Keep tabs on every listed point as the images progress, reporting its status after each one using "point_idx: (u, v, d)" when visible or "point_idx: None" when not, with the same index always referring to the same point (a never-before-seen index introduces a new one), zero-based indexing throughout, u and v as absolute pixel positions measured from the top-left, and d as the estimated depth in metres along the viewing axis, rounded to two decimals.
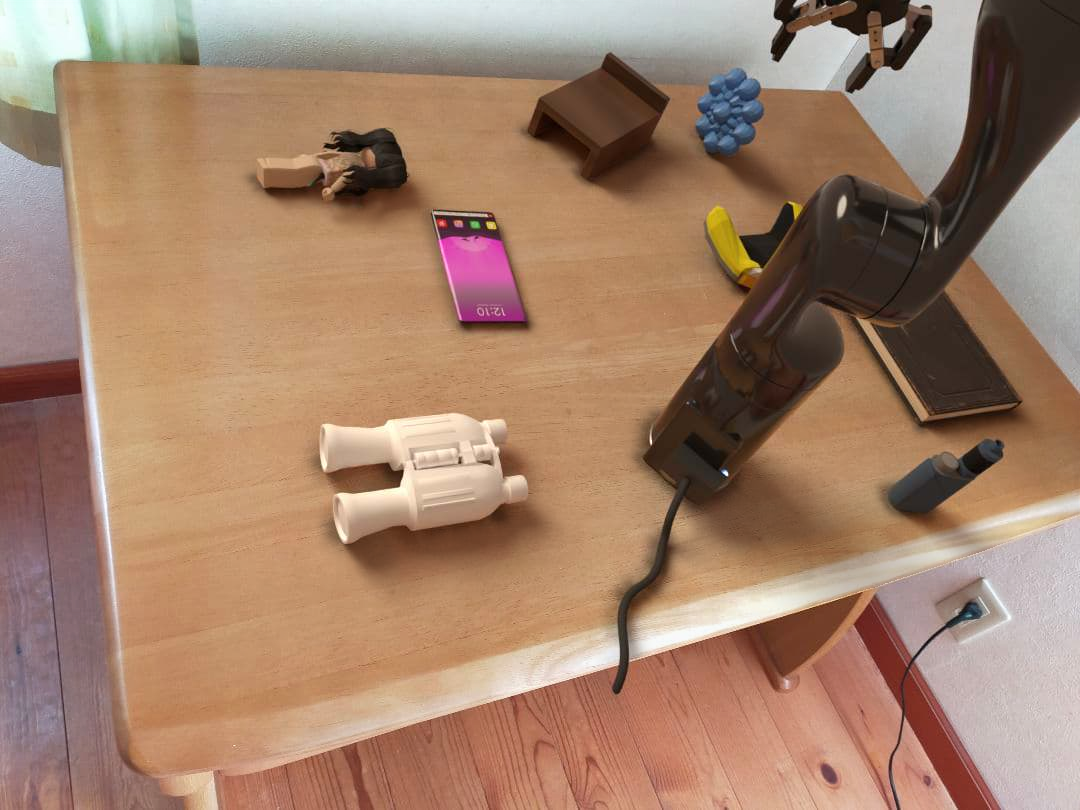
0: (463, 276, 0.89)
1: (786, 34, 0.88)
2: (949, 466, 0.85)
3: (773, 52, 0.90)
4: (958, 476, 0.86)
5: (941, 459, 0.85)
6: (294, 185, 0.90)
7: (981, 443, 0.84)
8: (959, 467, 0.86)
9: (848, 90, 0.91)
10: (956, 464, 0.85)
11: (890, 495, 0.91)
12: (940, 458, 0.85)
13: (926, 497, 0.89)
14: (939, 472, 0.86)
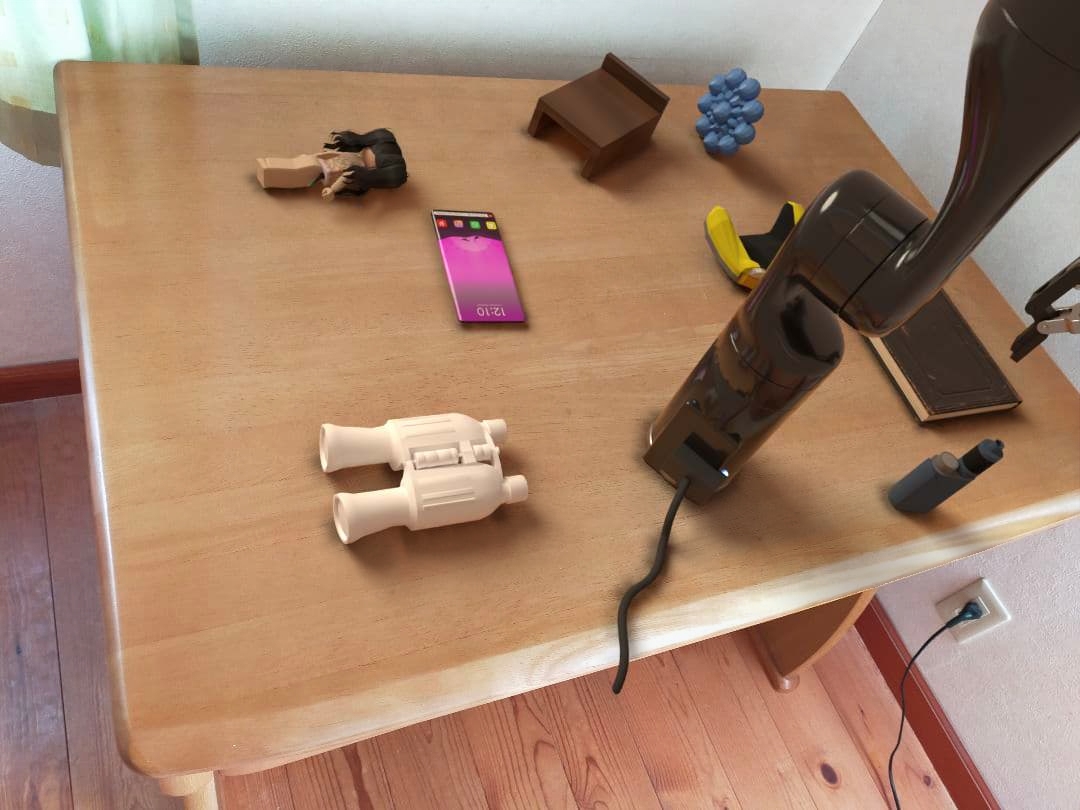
0: (463, 276, 0.89)
1: (1035, 334, 0.74)
2: (949, 466, 0.85)
3: (1013, 350, 0.76)
4: (958, 476, 0.86)
5: (941, 459, 0.85)
6: (294, 185, 0.90)
7: (981, 443, 0.84)
8: (959, 467, 0.86)
9: None
10: (956, 464, 0.85)
11: (890, 495, 0.91)
12: (940, 458, 0.85)
13: (926, 497, 0.89)
14: (939, 472, 0.86)
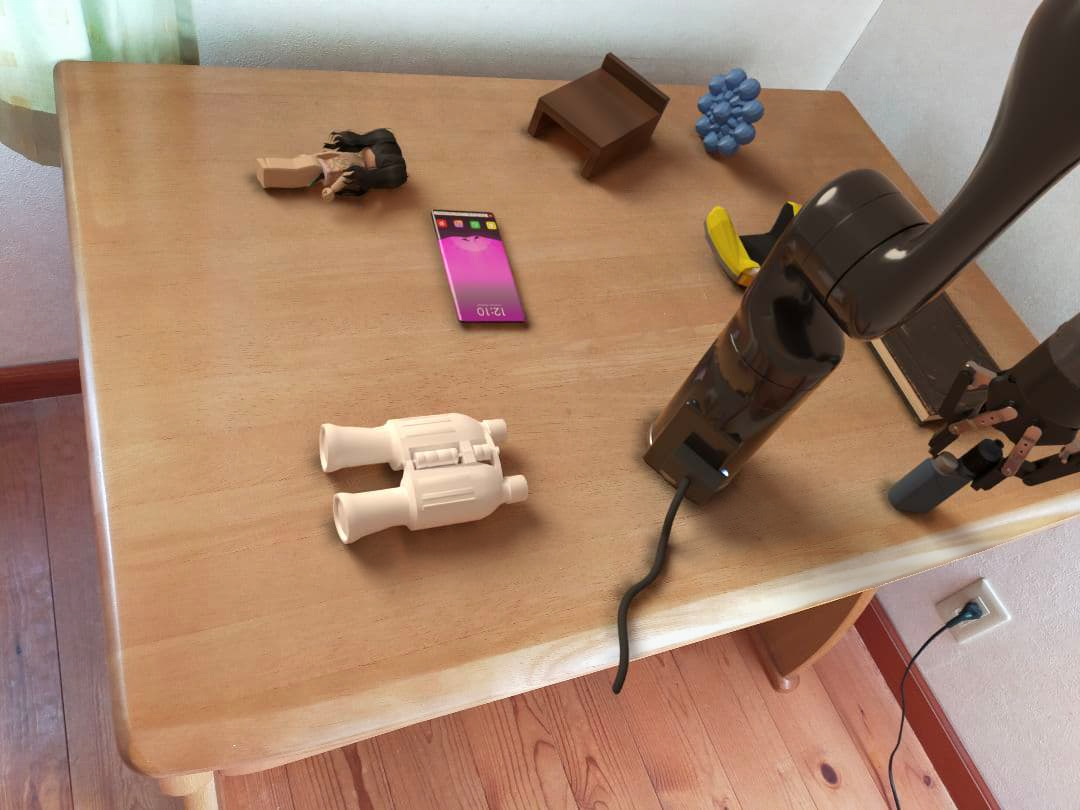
0: (463, 276, 0.89)
1: (948, 433, 0.84)
2: (949, 466, 0.85)
3: (931, 445, 0.86)
4: (958, 476, 0.86)
5: (941, 459, 0.85)
6: (294, 185, 0.90)
7: (981, 443, 0.84)
8: (959, 467, 0.86)
9: (973, 486, 0.85)
10: (956, 464, 0.85)
11: (889, 495, 0.91)
12: (940, 458, 0.85)
13: (926, 497, 0.89)
14: (939, 471, 0.86)
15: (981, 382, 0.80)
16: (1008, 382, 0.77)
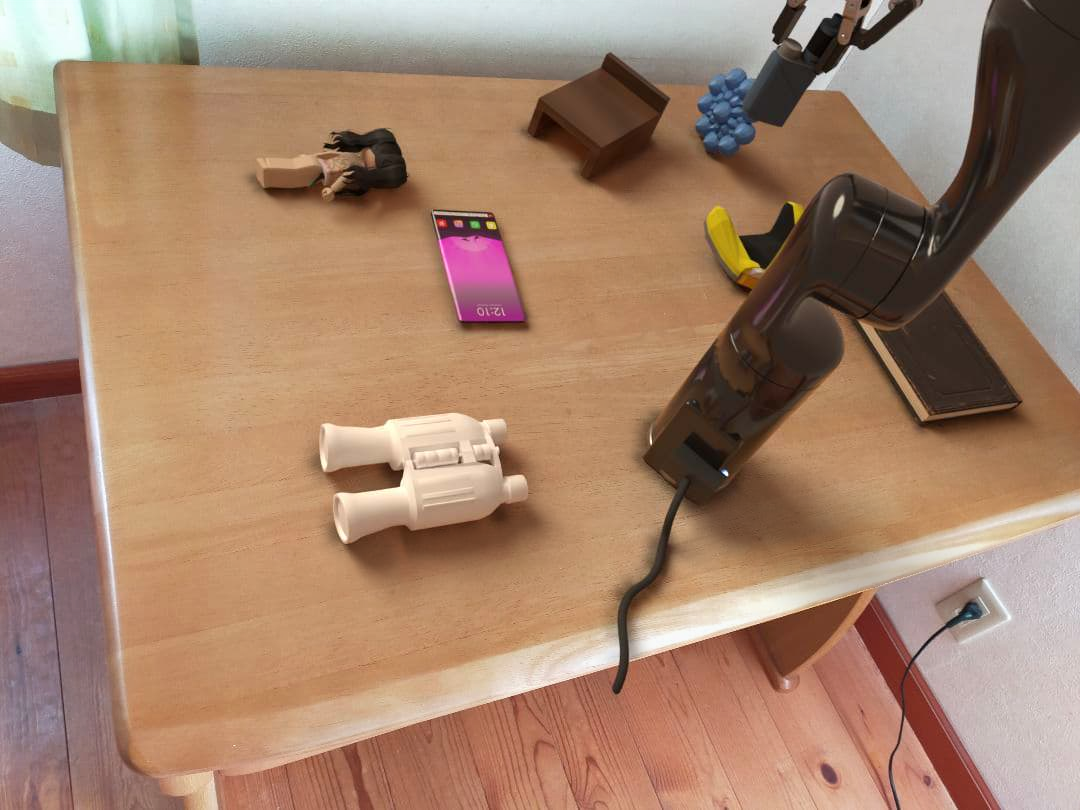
0: (463, 276, 0.89)
1: (788, 11, 0.83)
2: (791, 48, 0.84)
3: (774, 32, 0.85)
4: (803, 64, 0.85)
5: (784, 42, 0.84)
6: (294, 185, 0.90)
7: (822, 20, 0.83)
8: (804, 54, 0.85)
9: (814, 69, 0.84)
10: (799, 48, 0.85)
11: None
12: (783, 42, 0.84)
13: (775, 97, 0.88)
14: (782, 56, 0.85)
15: None
16: None
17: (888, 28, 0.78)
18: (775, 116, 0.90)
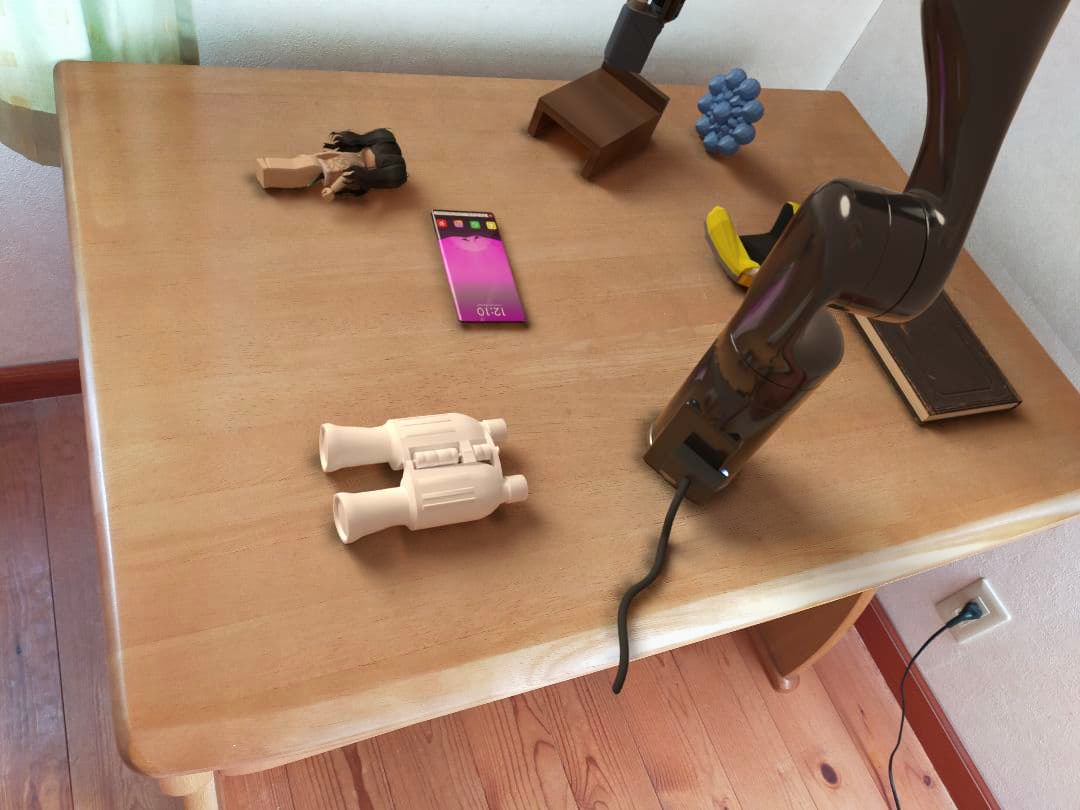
0: (463, 276, 0.89)
1: None
2: (638, 0, 0.96)
3: None
4: (650, 14, 0.97)
5: None
6: (294, 185, 0.90)
7: None
8: (650, 6, 0.97)
9: (658, 19, 0.96)
10: (646, 0, 0.97)
11: (604, 54, 1.02)
12: None
13: (629, 45, 1.00)
14: (631, 8, 0.97)
15: None
16: None
17: None
18: (632, 63, 1.02)
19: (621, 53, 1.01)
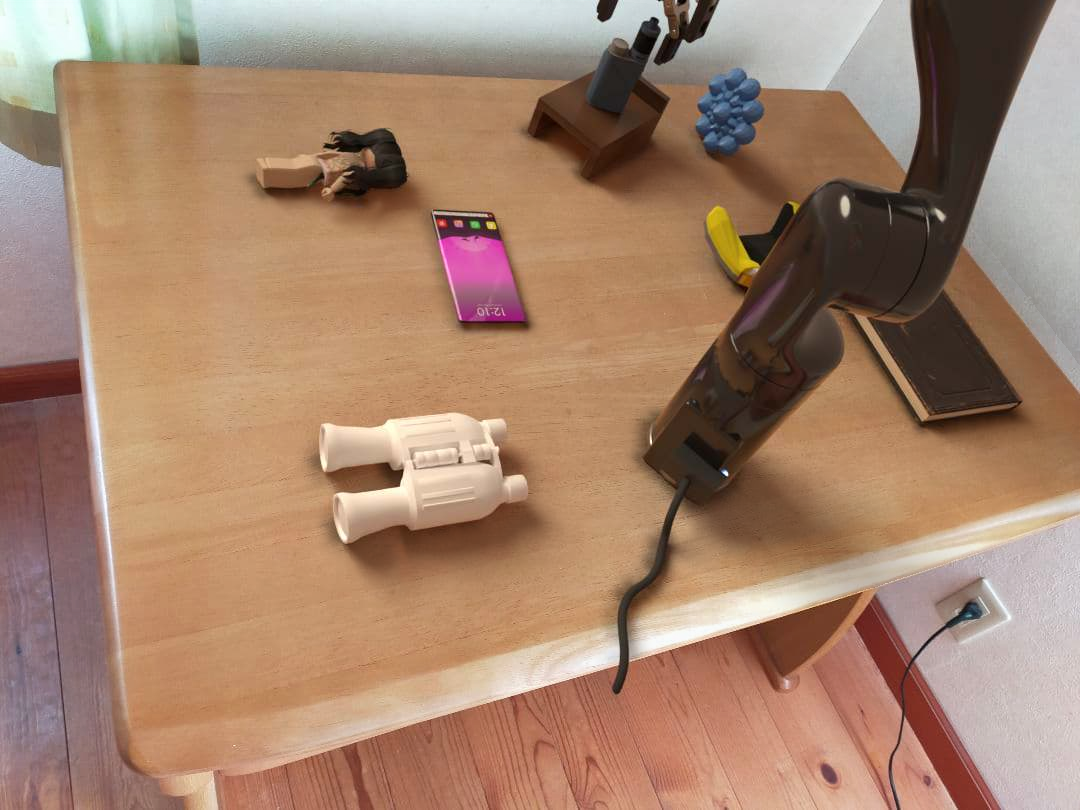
0: (463, 276, 0.89)
1: None
2: (618, 46, 1.01)
3: (598, 11, 1.01)
4: (630, 59, 1.02)
5: (613, 41, 1.01)
6: (294, 185, 0.90)
7: None
8: (630, 51, 1.02)
9: (654, 60, 0.99)
10: (626, 46, 1.01)
11: (587, 95, 1.07)
12: (612, 41, 1.01)
13: (611, 87, 1.04)
14: (612, 53, 1.01)
15: None
16: None
17: (701, 17, 0.93)
18: (614, 104, 1.06)
19: (603, 95, 1.05)
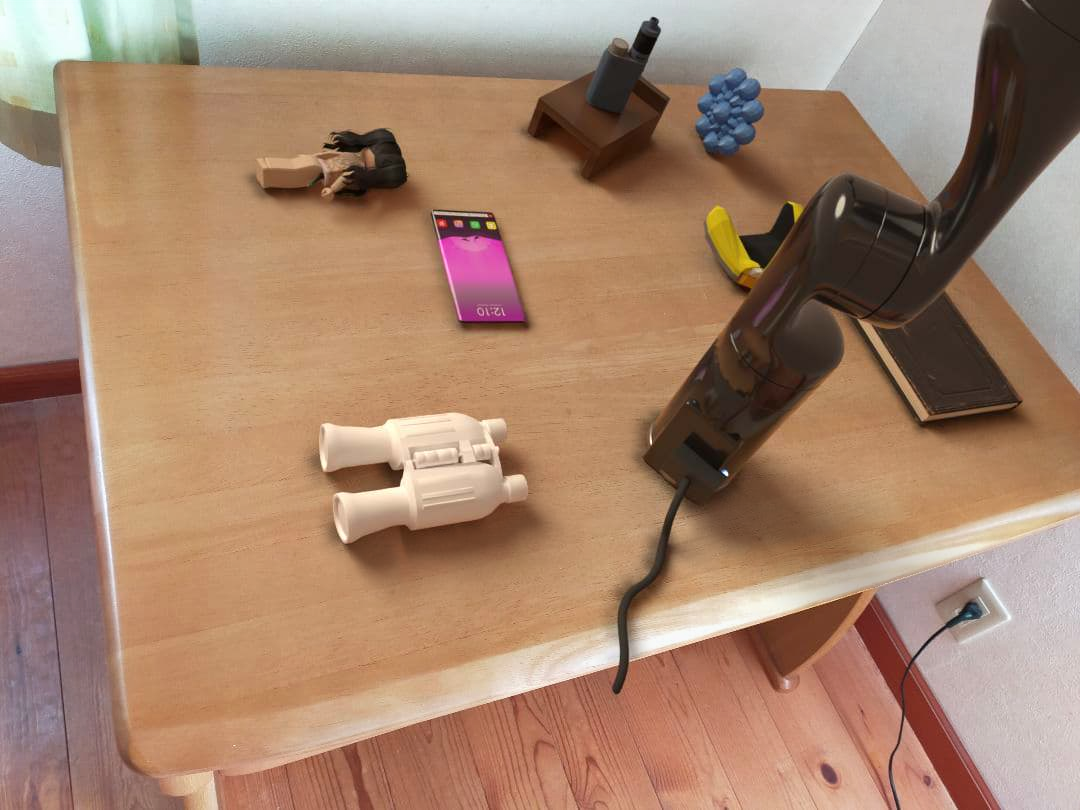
0: (463, 276, 0.89)
1: None
2: (618, 46, 1.01)
3: None
4: (630, 59, 1.02)
5: (613, 41, 1.01)
6: (294, 185, 0.90)
7: None
8: (630, 51, 1.02)
9: None
10: (626, 46, 1.01)
11: (587, 95, 1.07)
12: (612, 41, 1.01)
13: (611, 87, 1.04)
14: (612, 53, 1.01)
15: None
16: None
17: None
18: (614, 104, 1.06)
19: (603, 95, 1.05)
